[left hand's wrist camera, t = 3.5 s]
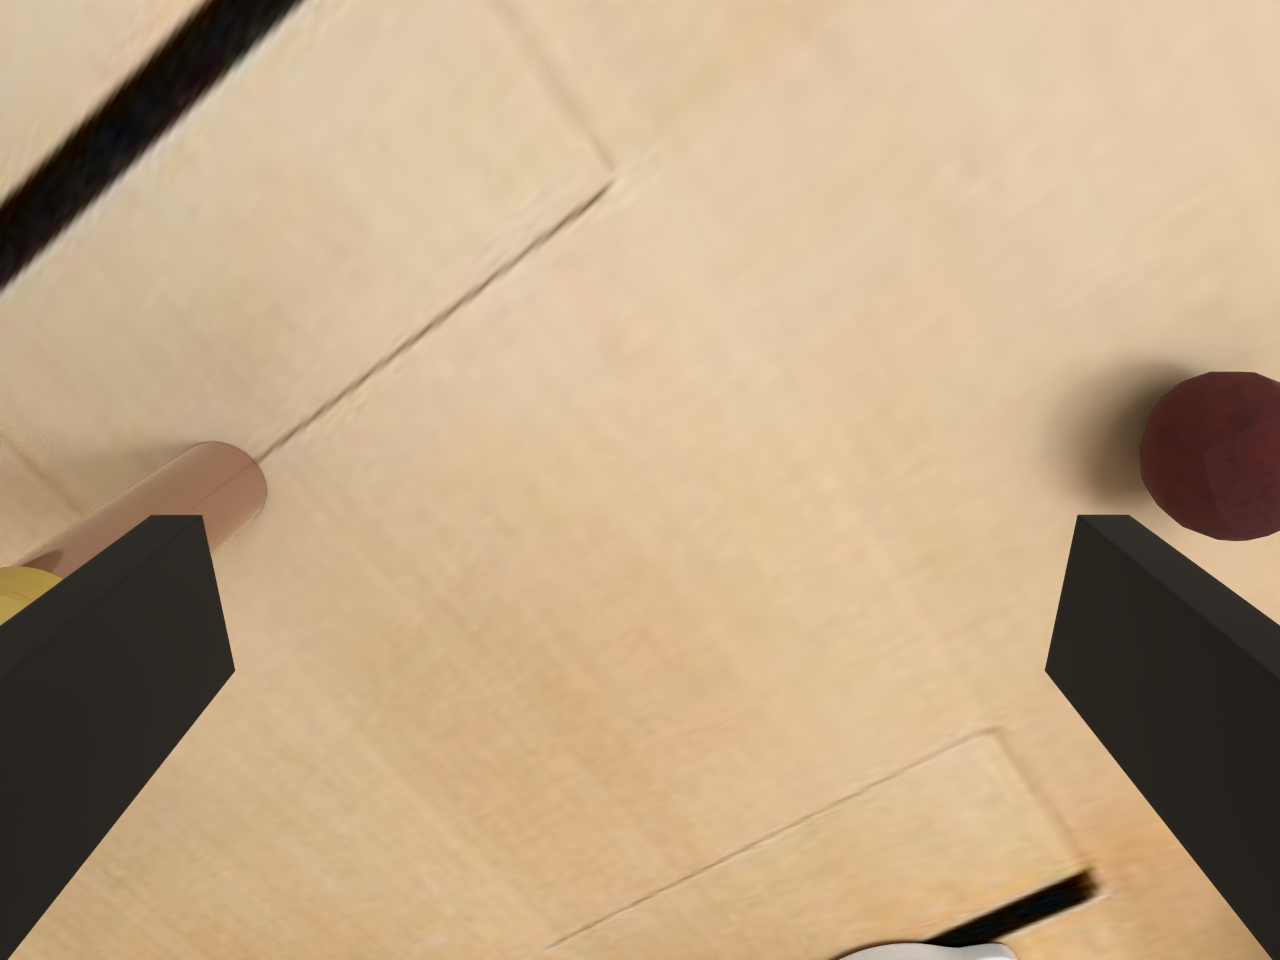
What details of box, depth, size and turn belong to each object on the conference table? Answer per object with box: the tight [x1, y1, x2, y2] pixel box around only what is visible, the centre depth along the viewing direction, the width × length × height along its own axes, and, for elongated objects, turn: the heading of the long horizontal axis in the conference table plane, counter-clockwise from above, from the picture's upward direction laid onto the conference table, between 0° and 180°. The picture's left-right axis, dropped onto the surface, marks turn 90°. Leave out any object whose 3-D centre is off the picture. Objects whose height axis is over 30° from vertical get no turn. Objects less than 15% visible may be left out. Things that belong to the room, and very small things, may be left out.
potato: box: [1140, 372, 1280, 541], centre depth 38 cm, size 7×8×7 cm
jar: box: [8, 442, 267, 579], centre depth 35 cm, size 5×5×15 cm
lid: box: [0, 566, 63, 625], centre depth 28 cm, size 5×5×2 cm
